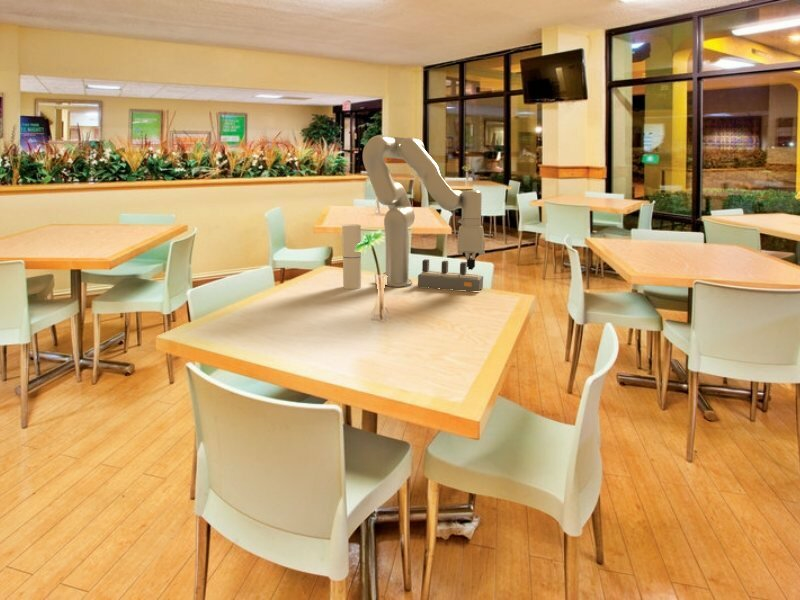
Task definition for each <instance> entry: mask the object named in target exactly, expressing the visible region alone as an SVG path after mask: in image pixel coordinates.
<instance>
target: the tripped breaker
mask: <svg viewBox="0 0 800 600" xmlns="http://www.w3.org/2000/svg"><path fill="white" fill-rule="evenodd" d="M467 270H468V267H467V261H461V262H460V263H459V273H460V274H466V273H467Z"/></svg>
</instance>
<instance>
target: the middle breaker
mask: <svg viewBox="0 0 800 600" xmlns="http://www.w3.org/2000/svg"><path fill="white" fill-rule="evenodd" d="M440 271H441V273H447V272H449V260H442V261H441V270H440Z"/></svg>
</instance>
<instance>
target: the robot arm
mask: <svg viewBox="0 0 800 600" xmlns="http://www.w3.org/2000/svg"><path fill="white" fill-rule="evenodd" d="M386 158H387V159H396V160H397V159H399V160H404V162H405V163H406V164H407V165H408V166H409V168H411V170H412V171H413V172H414V173H415V175H416V176H417V177H418V178H419V179H420V181H421V183H422V185H423V186H424V187H425V189H426V191H427V193H428V194H429V195H430V196H431V198H432V199H433V200H434V201H435V202H436V204H437V205H438V206H439V207H440V208H442V209H443V210H444V211H449V212H450V211H454V210H456V209H461V218H460V219H457V223H459V224H461V225H460V226H459V227H458V233H457V254H458V255H461V256H463V257H464V258H465V259H466V262H467V270H474V268H475V267H476V259H477V258H478V257H479V256H484V255H485V254H486V252H485V232H484V226H483V225H482V192H481V191H480V190H477V189H476V190H475V189H472V190H471V189H469V190H468V189H467V190H458V189H452V188H451V187H450V186H449V185H448V184H447V182H446V180H445V179H444V178H443V177H442V175H441V173H440V167H439V165H438V164H437V162H436V161H435V160H434V159H433V158H432V156H430V154H429V153H428V152H427V151H426V148H425V145H424V142H423V141H422V140H420V139H419V138H417V137H398V136H389V135H381V134H378V135H374V136H372V137H371V138H370V139H368V141H366V144H365V145H364V147H363V150H362V161H363V162H362V163H363V165H364V169H365V172H366V173H367V175H368V178H369V181H370V183H371V184H370V185H371V186H372V188H373V191H374V193H375V196H376V198H377V200H378V202H379V203H380V204H381V205H382V206H386V207H388V211H387V212H386V214H385V215H384V219H383V224H384V225H383V227H384V234H385V237H384V238H385V272H382V273H383V274H386V275H387V276H388V277H387V286H386V287H391V286H393V287H392V288H394V287H395V288H396V287H397V288H402V287H401V286H404V287H409V286H412V284H413V280H411V279H409V271H410V269H409V261H410V259H409V258H410V257H409V256H410V255H409V254H410V247H409V246H410V237H409V227H411V226H412V225H413V224H414V222H415V217H416V215H415V212H414V209H413V205H412V203H411V201H410V198H409V196H408V194H407V193H408V192H407V191H406V189H405V187H404V186H403V185H402V184H401V183H400V182H398V181H395V180H394V179H393V177H392V175H391V171H390V169H389V167H388V165H387V163H386V161H385V159H386ZM470 253H472V254H470ZM471 255H472V256H471ZM408 285H409V286H408Z"/></svg>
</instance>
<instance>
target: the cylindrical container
mask: <svg viewBox="0 0 800 600" xmlns="http://www.w3.org/2000/svg"><path fill="white" fill-rule="evenodd" d="M341 226H342V227H341V228H342V229H341V230H342V231H341V232H342V234H341V235H342V272H343V273H342V274H343V275H342V278H343V279H342V282H343V289H346V290H358V289H361V288H362V257H361V255H362V251H361V252H355V251H354V250H355V246H356V245H357V244H358V243H360V242H362V239H361V238H362V237H361V231H362V230H361V227H362V226H361V224H354V223H352V224H351V223H350V224H349V223H346V224H342V225H341Z"/></svg>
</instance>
